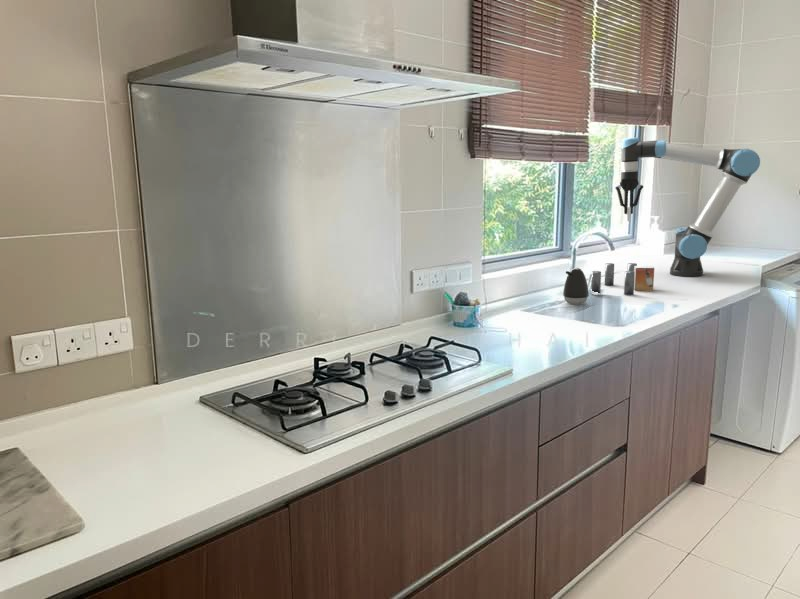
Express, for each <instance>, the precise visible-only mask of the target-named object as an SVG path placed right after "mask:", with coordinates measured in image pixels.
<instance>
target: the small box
mask: <svg viewBox="0 0 800 599" xmlns="http://www.w3.org/2000/svg"><path fill="white" fill-rule="evenodd" d="M634 272H635V276H634V291H647V292H653V291H654V280H655V267H654V266H653V265H637V266H634Z"/></svg>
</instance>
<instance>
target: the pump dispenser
mask: <svg viewBox="0 0 800 599" xmlns="http://www.w3.org/2000/svg"><path fill="white" fill-rule="evenodd" d="M565 274H566V275H567V276H566V279H565V282H564V285H563V286H564V287H563V294H562V295H563V298H564V300H565V302H566V303H567V304H568V305H570V306H581V305H583V304H585V303H586V302H587V300H588V298H589V295H590V294H589V286H588V282H587V281H588V280H587V278H586V274H585V273H584V272H583V270H582V269H581V268H579V267H573V268H571V269H570V271H568V270H566V271H565Z"/></svg>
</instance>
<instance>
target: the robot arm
mask: <svg viewBox="0 0 800 599" xmlns="http://www.w3.org/2000/svg"><path fill="white" fill-rule="evenodd" d="M639 158H641V159H642V158H644V159H645V158H655V159H661V160H662V159H664V160H668V161H669V160H670V161H676V162H683V163H690V164H694V165H695V164H696V165H703V166H710V167H714V168H716V170H721V175H722V177H721V179H720V181H719V183H718V184H717V186H716V187H715V189H714V190H713V192H712V194H711V195H710V197H709V198H708V200H707V202H706V204H705V205H704V207H703V208H702V209H701V212H700V213H699V214H698V217H697V218H696V220H695V221H694V222H693V223H692V224H688V226H687V227H679V228H677V229H676V231H675V244H674V258H673V262H672V264H671V267H670V268H669V274H670V273H671V274H670V275H672V276H677V277H687V278H689V277H690V278H691V277H693V278H694V277H700V276H703V275H704V268H703V265H702V264H703V263H702V260H701V257H703V256H704V254H705V253H706V251H707V250H708V245H709V243H710V242H711V240H712V238H713V233H712V232H713V230H714V228H715V227H716V226H717V224H718V222H719V221H720V219H721V218H722V216H723V214H724V213H725V211H726V210H727V208H728V207H729V205H730V204H731V202H732V200H733V198H734V197H735V195H737V194H736V193H737V192H738V190H739V189H740V187H741V186H743V185H745V184H748V182H749V180H750V178H751V177H752V176H753V174H755V173H756V172H757V171H758V170H759V168H760V166H761V157H760V156H759V153H757V152H756V151H755V150H753V149H750V148H734V149H733V148H731V149H727V148H721V149H720V150H719V149H713V148H705V147H698V146H691V145H684V144H676V143H669V142H667V141H666V140H661V139H660V140H659V139H658V140H657V139H656V140H645V141H641V140H640V139H639V137H624V138H623V139H622V140H621V167H620V168H621V173H620V182H619V185H616V186H615V187H614V189H615V190H616V192H617V196H618V200H619V201H618V202H619V206H621V207H623V209H624V210H623V214H624V215H626V216H625V219H626V220H625V221H626V222H631V217H632V216H631V215H632V214H634V207H636V206H638V204H639V199H640V195H641V192H642V190H643V188H644V185H642V184H640V183H639V179H638V178H639ZM636 188H637V191H636V194H635V190H636ZM621 190H623V192H624V193H623V194H624V196H623V195H622V191H621ZM634 194H635V197H634ZM623 198H624V199H623ZM628 205H629V206H628Z"/></svg>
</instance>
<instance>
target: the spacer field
mask: <svg viewBox="0 0 800 599" xmlns="http://www.w3.org/2000/svg"><path fill="white" fill-rule="evenodd" d="M604 265H605V266H604V267H605V268H604V286H607V287H611V286H614V284H615V283H614V282H615V280H614V279H615V277H614V276H615V263H613V262H612V263H611V262H610V263H605V264H604ZM634 266H638V264H637V263H635V262H631V263H628V262H627V270H625V271H624V286H623V287H624V288H623V291H624V292H623V294H624V295H625V296H634V294H635V292H634V291H635V290H634V276H635V272H634ZM591 275H593V277H592V280H591V281H590V283H591V284H590V290H591V289H592V291H594V292H598V293H600V294H601V290H602V289H601V288H602V286H601V285H602V282H601V280H602V271H600V270H593V271H591Z"/></svg>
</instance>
